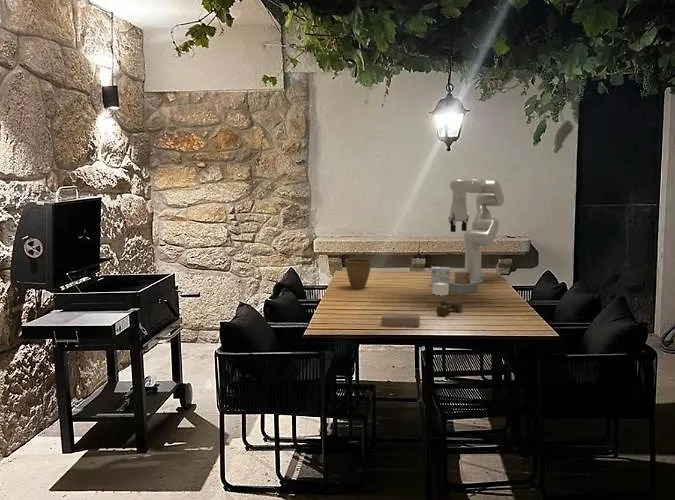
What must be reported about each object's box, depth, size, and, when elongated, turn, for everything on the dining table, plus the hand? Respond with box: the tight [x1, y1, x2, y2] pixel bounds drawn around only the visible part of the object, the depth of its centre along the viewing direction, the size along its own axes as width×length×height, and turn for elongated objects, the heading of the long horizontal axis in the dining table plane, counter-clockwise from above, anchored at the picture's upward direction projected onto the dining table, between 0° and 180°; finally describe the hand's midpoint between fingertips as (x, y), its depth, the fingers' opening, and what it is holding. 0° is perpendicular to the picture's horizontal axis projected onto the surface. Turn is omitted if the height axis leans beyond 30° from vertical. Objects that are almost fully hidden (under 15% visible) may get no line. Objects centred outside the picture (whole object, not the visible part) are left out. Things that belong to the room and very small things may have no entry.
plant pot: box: [345, 258, 373, 290], centre depth 367 cm, size 15×15×16 cm
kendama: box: [435, 298, 463, 317], centre depth 305 cm, size 6×10×20 cm
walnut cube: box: [454, 270, 470, 284], centre depth 358 cm, size 6×6×6 cm
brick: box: [380, 312, 421, 327], centre depth 282 cm, size 17×8×5 cm, turn 81°
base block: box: [446, 280, 478, 295], centre depth 359 cm, size 12×12×5 cm
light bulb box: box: [430, 266, 451, 287], centre depth 375 cm, size 11×7×11 cm, turn 84°
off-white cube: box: [432, 283, 450, 297], centre depth 349 cm, size 6×6×6 cm
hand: (458, 231), depth 367 cm, fingers open, 9 cm apart
